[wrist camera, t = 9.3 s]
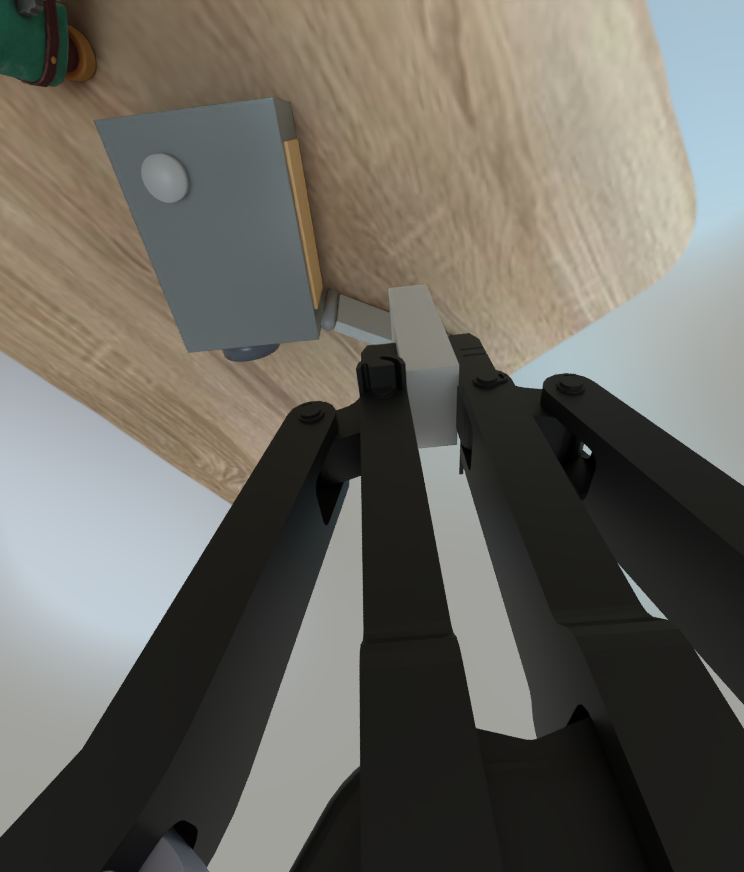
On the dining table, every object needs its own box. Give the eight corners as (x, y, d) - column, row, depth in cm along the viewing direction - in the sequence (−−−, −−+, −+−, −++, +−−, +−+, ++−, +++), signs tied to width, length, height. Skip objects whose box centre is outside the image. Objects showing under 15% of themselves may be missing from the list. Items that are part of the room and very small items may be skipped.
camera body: (146, 120, 28) (86, 120, 22) (293, 102, 28) (273, 95, 21) (220, 334, 38) (192, 376, 31) (330, 323, 37) (324, 363, 31)
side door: (463, 337, 38) (480, 372, 33) (456, 351, 39) (470, 387, 34) (328, 286, 35) (322, 315, 30) (323, 303, 36) (316, 334, 31)
